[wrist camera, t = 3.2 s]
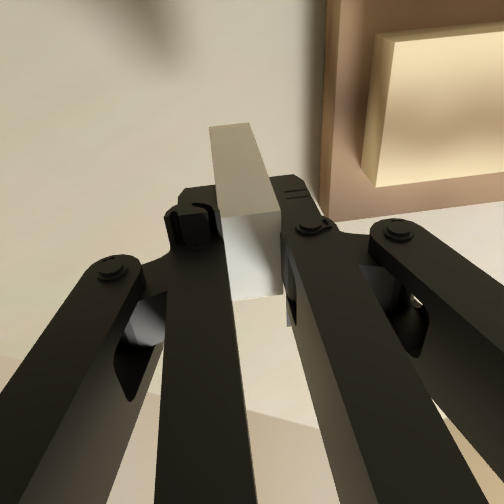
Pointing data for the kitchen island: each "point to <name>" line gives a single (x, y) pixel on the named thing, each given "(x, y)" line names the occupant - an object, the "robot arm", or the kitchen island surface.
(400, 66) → the maple tile
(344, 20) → the walnut deck
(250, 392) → the kitchen island surface
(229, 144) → the robot arm
